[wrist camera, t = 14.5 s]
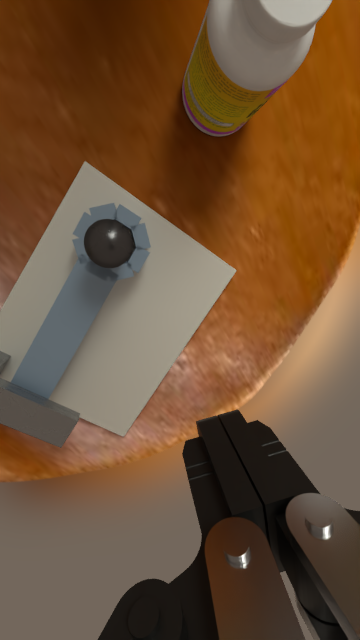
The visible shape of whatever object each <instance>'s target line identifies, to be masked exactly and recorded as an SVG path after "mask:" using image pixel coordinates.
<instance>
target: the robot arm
mask: <svg viewBox="0 0 360 640" xmlns="http://www.w3.org/2000/svg"><path fill="white" fill-rule="evenodd" d="M196 424H197V429H198V434H199V437H197V438H194V439H190V440H187V441H186V442H185V445H184V449H183V453H182V454H183V458H184V463H185V467H186V471H187V475H188V480H189V484H190V488H191V493H192V496H193V500H194V505H195V508H196V513H197V517H198V521H199V525H200V529H201V533H202V542H201V546H200V550H199V552H198V554H197V556H196V558H195V560H194V561H193V563H192V564H191V565H190V566H189V568H187V569H186V570H185V571H184V572H183V573H182V574H180V575H179V576H178V577H177V578H175V579H174V580H173V581H172V582H171V583H169V584H167V583H166V582H164V581H162V580H159V579H147V580H143V581H141V582H139V583H137V584H135V585H134V586H133V587H131V588H130V589H129V590H128V591H127V592H126V593H125V594H124V595H123V597H122V598H121V599H120V601H119V603H118V604H117V606H116V608H115V610H114V611H113V613H112V615H111V617H110V619H109V620H108V622H107V624H106V626H105V628H104V630H103V631H102V633H101V635H100V636H99V638H98V640H305V637H304V635H303V632H302V630H301V627H300V625H299V622H298V619H297V617H296V614H295V611H294V609H293V606H292V603H291V601H290V598H289V596H288V593H287V591H286V588H285V585H284V583H283V580H282V578H281V575H280V572H283V571H286V573H287V575H288V578H289V580H290V582H291V584H292V586H293V588H294V595H295V602H296V605H297V608H298V610H299V612H300V614H301V616H302V618H303V620H304V622H305V624H306V626H307V628H308V630H309V631H310V633H311V635H312V637H313V639H314V640H360V511H353V510H348V509H345V508H343V507H342V506H341V505H340V504H338V503H337V502H336V501H335V500H333V499H331V498H329V497H327V496H324V495H321V494H320V493H319V492H318V490H317V489H316V488H315V487H314V485H313V484H312V483H311V481H310V480H309V479H308V477H307V476H306V475H305V473H304V472H303V471H302V469H301V468H300V467H299V466H298V464H297V463H296V461H295V460H294V459H293V458H292V456H291V455H290V454H289V452H288V451H286V448H285V447H284V446H283V444H282V443H281V442H280V441H279V440H278V438H277V436H276V435H275V434H274V433H273V431H272V430H271V429H270V428H269V427H268V426H266V425H264V424H263V423H261V422H259V421H258V420H257V421H253V422H250V423H247V422H246V420H245V419H244V417H243V416H242V414H241V413H240V411H239V410H234V411H231V412H227V413H224V414H220V415H218V416H213V417H210V418H206V419H202V420H199V421H196Z"/></svg>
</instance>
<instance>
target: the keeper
mask: <svg viewBox="0 0 360 640" xmlns="http://www.w3.org/2000/svg"><path fill="white" fill-rule="evenodd" d="M10 357H11V356H10V355H8V354H6V353H4V352H2V351H0V374H1V372H2V371H3V369H4V367H5V366H6V364H7V362H8V361H9V359H10ZM79 416H80V413H78V412H76V411H74V410H71V409H69V408H67V407H65V406H62V405H60V404H58V403H56V402H54V401H51V400H49V399H47V398H45V397H42V396H40V395H38V394H36V393H33V392H31V391H29V390H27V389H24V388H22V387H20V386H18V385H15V384H13V383H11V382H9V381H7V380H4V379H2V378H0V423H1V424H3V425H6V426H8V427H11V428H13V429H16V430H18V431H21V432H23V433H26V434H28V435H31V436H33V437H36V438H38V439H41V440H43V441H46V442H48V443H50V444H53V445H55V446H58V447H60V448H61V447H62V445H63V444H64V442H65V441H66V439H67V438H68V436H69V435H70V433H71V431H72V430H73V428H74V427H75V425H76V424H77V422H78V420H79Z"/></svg>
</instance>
